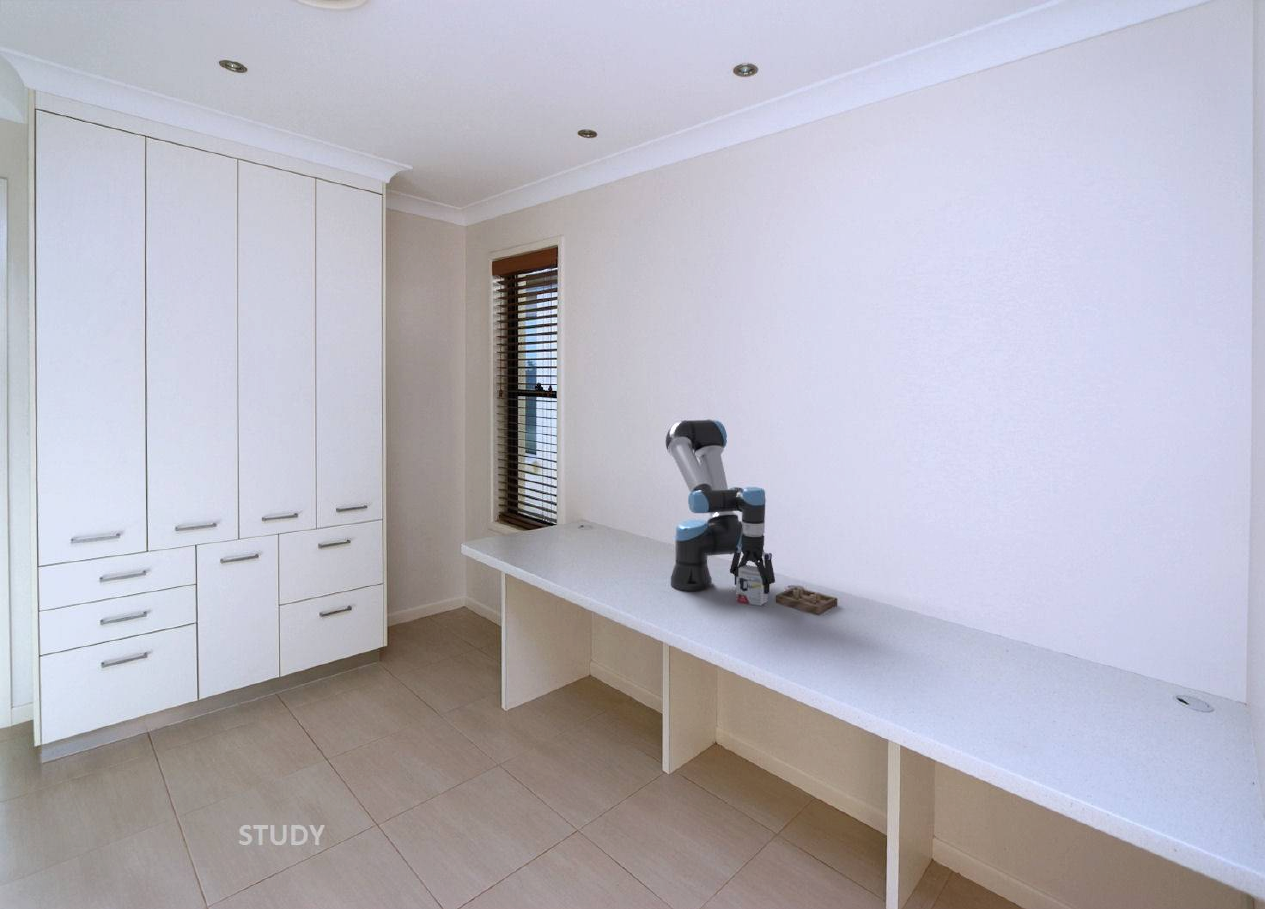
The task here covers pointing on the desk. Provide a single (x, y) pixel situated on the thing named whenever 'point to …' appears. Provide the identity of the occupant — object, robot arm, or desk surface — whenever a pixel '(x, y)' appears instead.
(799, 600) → the peg frame
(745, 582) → the ink box
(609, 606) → the desk surface
